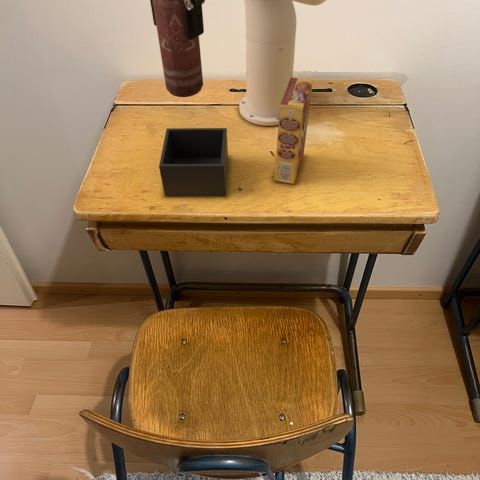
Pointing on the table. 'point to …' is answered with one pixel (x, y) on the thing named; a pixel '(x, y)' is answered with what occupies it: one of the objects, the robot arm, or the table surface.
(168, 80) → the can
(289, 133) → the candy box
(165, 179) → the bin
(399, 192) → the table surface
